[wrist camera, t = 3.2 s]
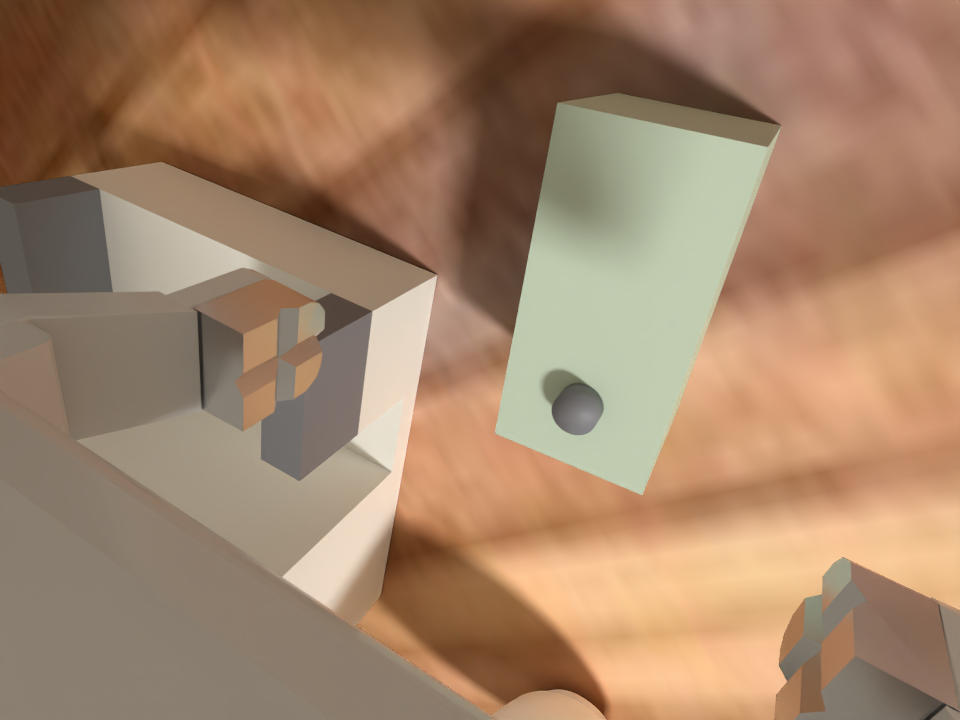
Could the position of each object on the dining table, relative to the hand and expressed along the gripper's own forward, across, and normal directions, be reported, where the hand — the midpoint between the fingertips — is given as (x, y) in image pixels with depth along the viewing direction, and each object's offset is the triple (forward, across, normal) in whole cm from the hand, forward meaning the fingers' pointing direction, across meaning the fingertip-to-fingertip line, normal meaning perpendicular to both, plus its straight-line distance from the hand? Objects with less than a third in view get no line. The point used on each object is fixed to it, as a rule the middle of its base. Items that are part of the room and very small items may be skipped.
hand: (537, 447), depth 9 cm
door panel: (+11, +1, +1) cm, 11 cm away
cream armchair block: (+11, +15, +13) cm, 23 cm away
